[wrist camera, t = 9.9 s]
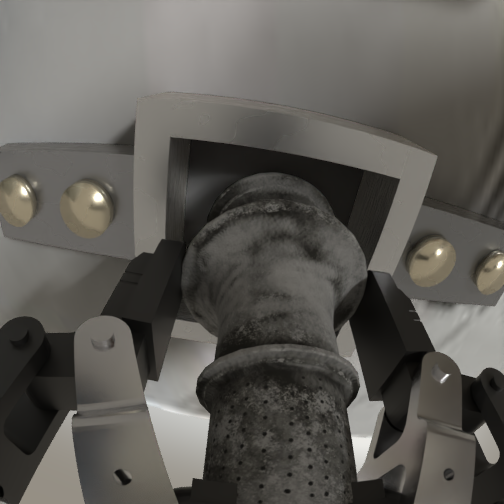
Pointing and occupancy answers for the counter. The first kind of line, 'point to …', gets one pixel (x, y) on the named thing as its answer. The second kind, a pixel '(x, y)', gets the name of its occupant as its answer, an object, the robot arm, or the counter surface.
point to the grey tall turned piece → (276, 340)
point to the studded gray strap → (259, 136)
